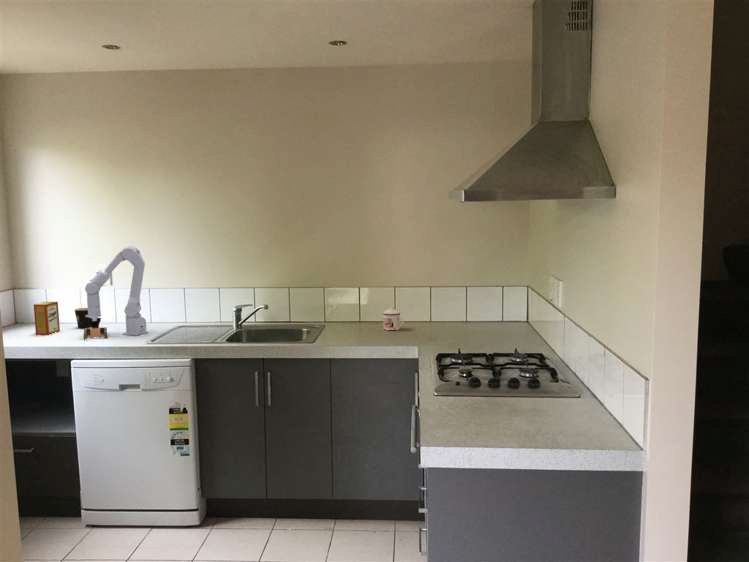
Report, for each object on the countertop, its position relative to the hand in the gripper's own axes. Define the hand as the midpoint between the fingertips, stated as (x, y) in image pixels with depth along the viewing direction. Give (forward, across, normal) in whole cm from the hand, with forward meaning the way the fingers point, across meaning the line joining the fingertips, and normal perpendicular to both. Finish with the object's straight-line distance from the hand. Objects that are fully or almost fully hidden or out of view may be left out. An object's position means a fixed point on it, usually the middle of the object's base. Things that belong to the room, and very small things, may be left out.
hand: (95, 333), depth 302 cm
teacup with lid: (+1, +55, +140) cm, 150 cm away
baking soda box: (+1, -17, -22) cm, 28 cm away
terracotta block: (+1, +5, 0) cm, 5 cm away
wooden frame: (+1, +3, 0) cm, 3 cm away
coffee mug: (+1, -23, -5) cm, 24 cm away
